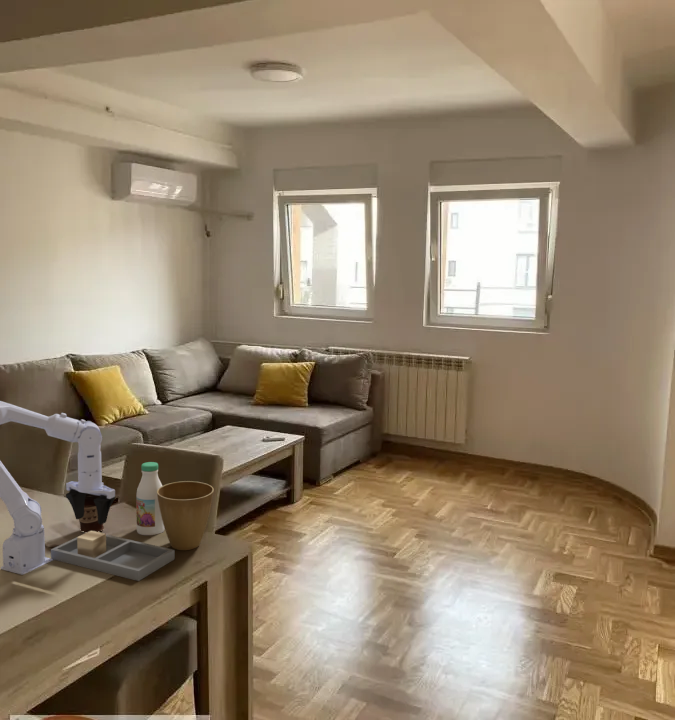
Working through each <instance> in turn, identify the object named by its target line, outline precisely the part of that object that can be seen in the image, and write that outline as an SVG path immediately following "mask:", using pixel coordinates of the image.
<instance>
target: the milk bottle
mask: <svg viewBox="0 0 675 720" xmlns="http://www.w3.org/2000/svg"><path fill="white" fill-rule="evenodd" d="M140 468H141V469H140V470H141V472H140V473H142V476H141V479H140V482H139V484H138V486H137V488H136V489H137V490H136V498H135V499H136V502H135V503H136V505H135V506H136V507H135V508H136V509H135V510H136V514H135V515H136V532H137V534H139V535H142V536H155V535H158V534H161V533H164V531H165V528H164V524H163V521H162V517H161V513H160V508H159V502H158V496H157V490H158V489H159V488H160V487H162V486H163V484H162V482H161V480H160V478H159V474H158V472H159V463H158V462H156V461H155V462H154V461H148V462H144V463H142V464H141V466H140Z"/></svg>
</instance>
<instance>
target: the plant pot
mask: <svg viewBox="0 0 675 720" xmlns="http://www.w3.org/2000/svg"><path fill="white" fill-rule="evenodd" d="M214 490H215V489H214V487H213V486H212V485H210V484H208V483H205V482H200V481H192V480H191V481H190V480H187V481H186V480H184V481H175V482H171V483H166V484H164V485H162V487H160V488H159V489H158V490H157V496H158V502H159V508H160V513H161V517H162V521H163V524H164V528H165V529H164V531H165V533H166V536H167V539H168V542H169V543H170V546H171V549H173V550H177V551H187V550H188V551H189V550H193V549H196V548H198V547H199V546H200V545H201V542H202V540H203V537H204V535H205V531H206V528H207V524H208V522H209V517H210V513H211V509H212V503H213V498H214V492H215V491H214Z"/></svg>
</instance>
